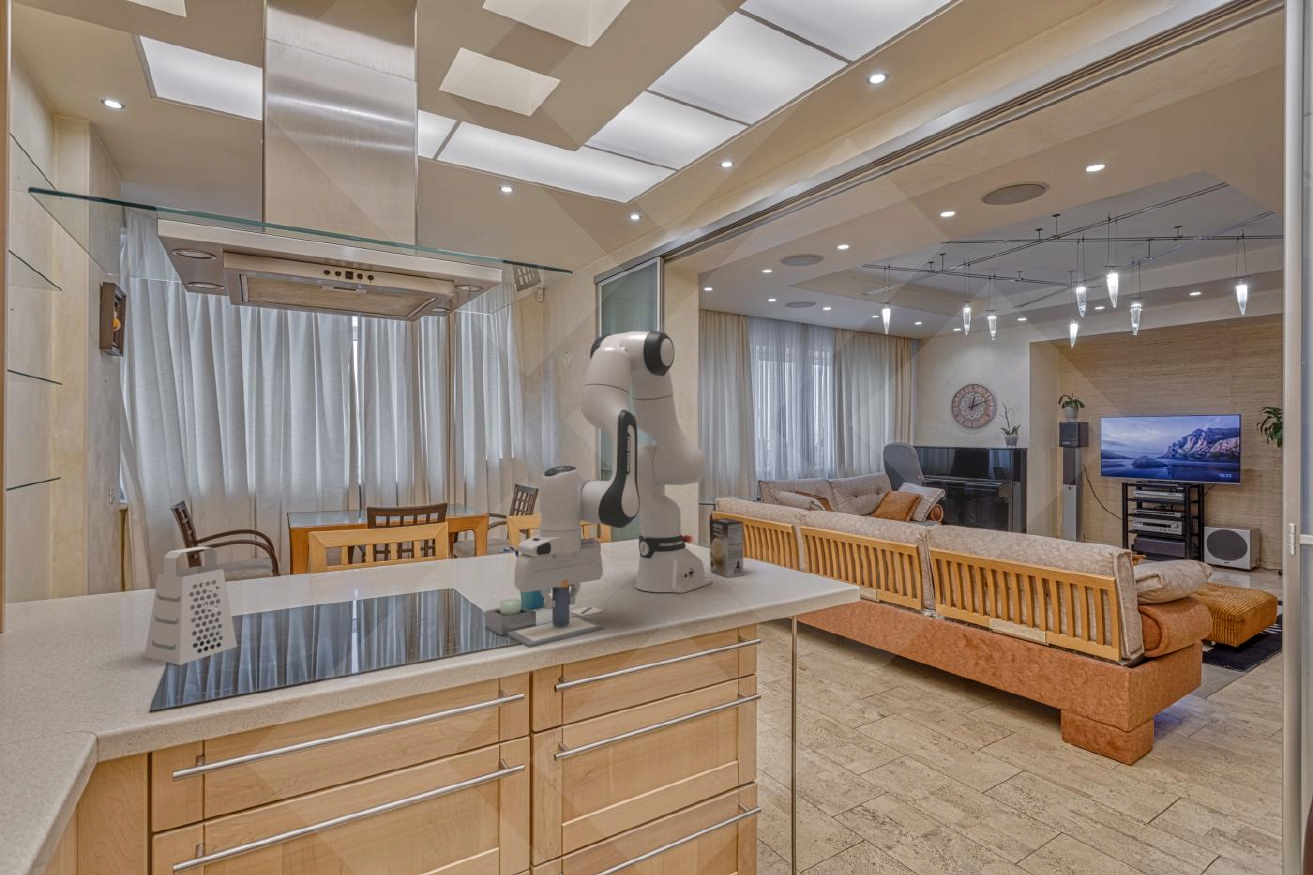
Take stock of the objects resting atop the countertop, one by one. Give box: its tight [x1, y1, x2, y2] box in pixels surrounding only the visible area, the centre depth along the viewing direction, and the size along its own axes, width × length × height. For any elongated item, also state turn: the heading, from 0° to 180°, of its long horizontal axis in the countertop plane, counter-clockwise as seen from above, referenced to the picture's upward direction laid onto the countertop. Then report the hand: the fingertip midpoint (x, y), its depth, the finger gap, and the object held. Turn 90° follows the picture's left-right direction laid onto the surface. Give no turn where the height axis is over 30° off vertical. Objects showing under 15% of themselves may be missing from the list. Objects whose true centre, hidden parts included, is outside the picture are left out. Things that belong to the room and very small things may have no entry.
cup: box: [499, 546, 545, 610], centre depth 150 cm, size 14×8×15 cm, turn 111°
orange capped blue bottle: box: [551, 580, 570, 626], centre depth 133 cm, size 4×4×9 cm
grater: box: [144, 546, 238, 666], centre depth 120 cm, size 10×10×20 cm
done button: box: [499, 598, 522, 616], centre depth 134 cm, size 4×4×4 cm
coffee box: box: [709, 517, 744, 578], centre depth 185 cm, size 9×6×16 cm
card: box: [569, 605, 604, 617], centre depth 146 cm, size 6×5×1 cm
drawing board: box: [505, 615, 605, 648], centre depth 131 cm, size 18×10×1 cm, turn 130°
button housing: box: [484, 605, 537, 636], centre depth 134 cm, size 8×8×4 cm
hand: (560, 606), depth 133 cm, fingers closed on orange capped blue bottle, 4 cm apart
